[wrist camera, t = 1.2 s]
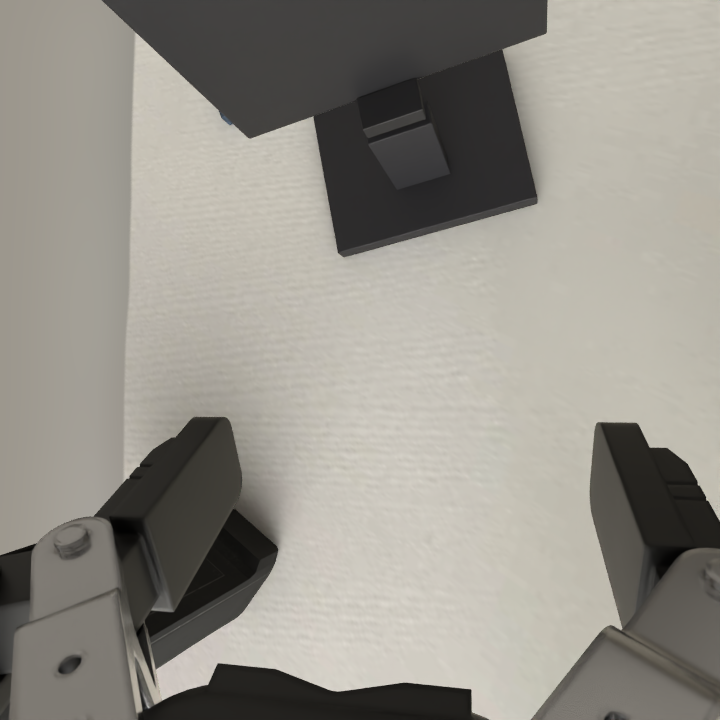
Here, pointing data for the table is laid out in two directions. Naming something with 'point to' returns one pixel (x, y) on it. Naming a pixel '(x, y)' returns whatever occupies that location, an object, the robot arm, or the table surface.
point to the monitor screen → (324, 51)
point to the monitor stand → (428, 161)
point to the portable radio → (209, 590)
